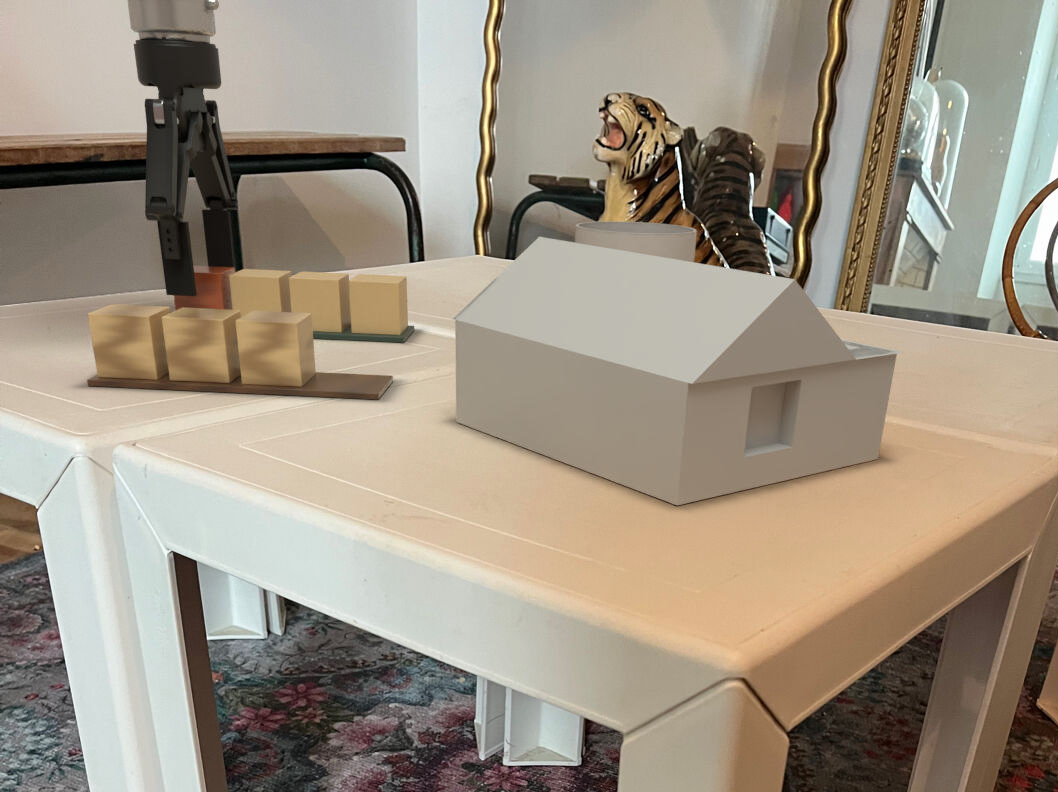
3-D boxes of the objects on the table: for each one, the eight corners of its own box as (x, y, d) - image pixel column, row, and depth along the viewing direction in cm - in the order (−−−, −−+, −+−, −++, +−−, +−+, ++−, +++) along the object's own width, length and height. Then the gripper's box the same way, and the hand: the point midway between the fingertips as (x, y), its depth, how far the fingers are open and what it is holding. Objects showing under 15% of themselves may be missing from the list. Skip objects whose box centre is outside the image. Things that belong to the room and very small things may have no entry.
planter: (611, 345, 116) (617, 234, 111) (550, 324, 126) (553, 222, 120) (710, 338, 122) (721, 232, 117) (645, 319, 131) (652, 220, 126)
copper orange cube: (177, 324, 114) (170, 271, 112) (193, 316, 119) (186, 265, 116) (225, 326, 114) (220, 273, 112) (239, 318, 119) (234, 267, 116)
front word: (87, 386, 92) (75, 315, 89) (120, 368, 98) (109, 301, 95) (378, 399, 92) (375, 328, 89) (393, 381, 98) (390, 314, 95)
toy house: (454, 421, 86) (452, 239, 80) (651, 391, 98) (663, 231, 92) (680, 506, 70) (700, 286, 63) (885, 459, 82) (920, 269, 75)
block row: (168, 331, 114) (160, 273, 111) (190, 320, 120) (184, 264, 117) (403, 342, 113) (401, 284, 111) (414, 330, 119) (412, 275, 117)
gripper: (169, 32, 93) (201, 305, 104) (252, 46, 115) (271, 272, 125) (80, 29, 93) (121, 302, 104) (179, 43, 115) (205, 268, 125)
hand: (203, 286), depth 115 cm, fingers open, 12 cm apart
